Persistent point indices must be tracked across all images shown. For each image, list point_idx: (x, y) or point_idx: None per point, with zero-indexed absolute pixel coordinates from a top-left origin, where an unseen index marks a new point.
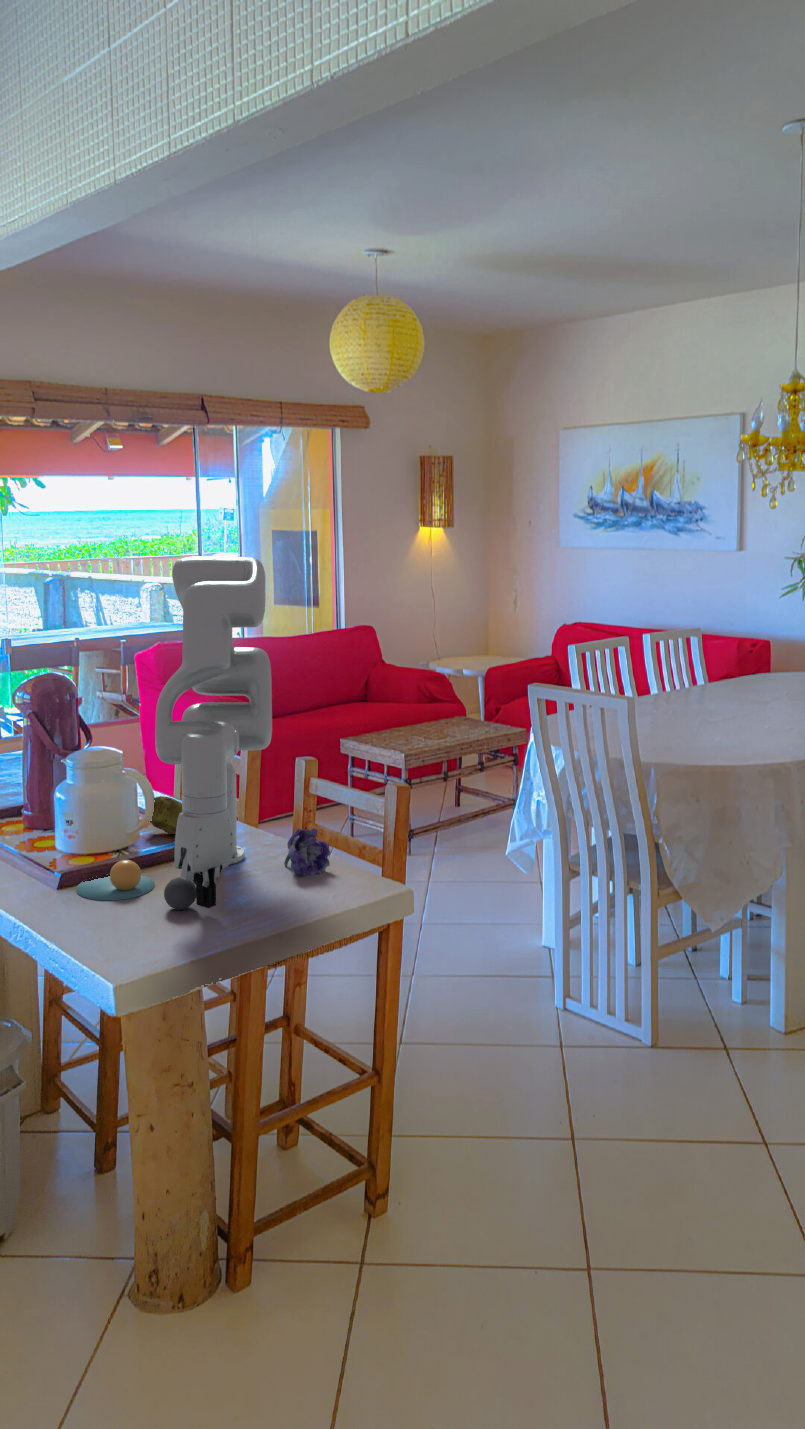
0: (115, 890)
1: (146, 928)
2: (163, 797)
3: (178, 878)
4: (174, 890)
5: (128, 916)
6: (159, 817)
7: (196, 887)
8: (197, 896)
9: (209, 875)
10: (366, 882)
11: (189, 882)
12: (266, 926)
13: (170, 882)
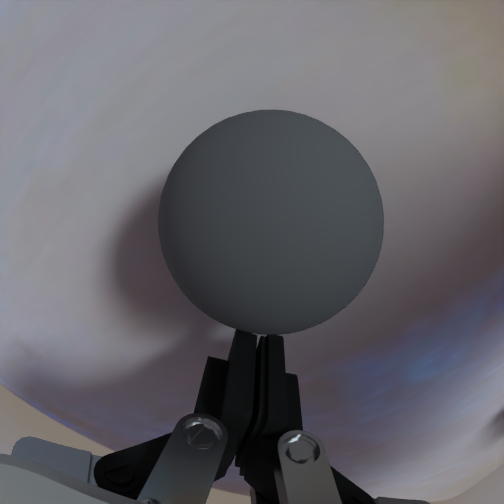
0: None
1: (34, 199)
2: None
3: (262, 250)
4: (165, 249)
5: (93, 49)
6: None
7: (194, 410)
8: (203, 376)
9: (273, 489)
10: (497, 459)
11: (278, 329)
12: (238, 474)
13: (205, 187)
